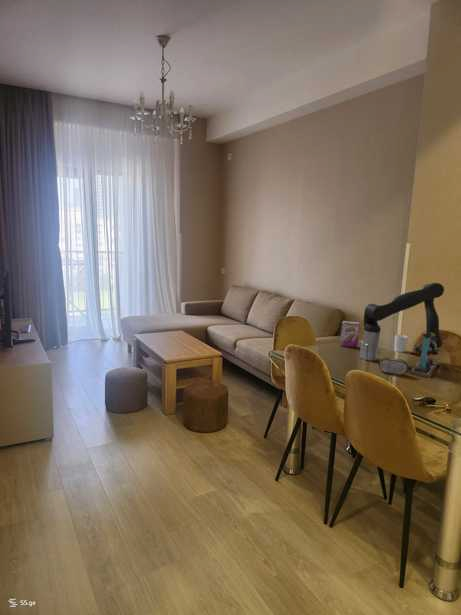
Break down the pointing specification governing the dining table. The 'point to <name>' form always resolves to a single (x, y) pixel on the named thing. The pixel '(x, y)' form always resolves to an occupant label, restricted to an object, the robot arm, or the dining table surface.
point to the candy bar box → (349, 334)
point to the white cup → (400, 343)
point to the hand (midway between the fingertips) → (424, 353)
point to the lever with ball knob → (424, 353)
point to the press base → (425, 374)
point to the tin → (393, 366)
